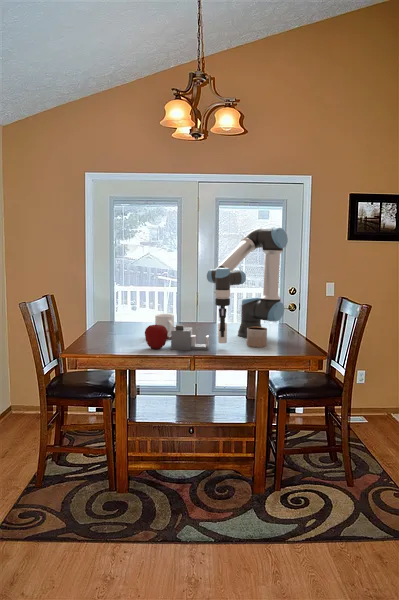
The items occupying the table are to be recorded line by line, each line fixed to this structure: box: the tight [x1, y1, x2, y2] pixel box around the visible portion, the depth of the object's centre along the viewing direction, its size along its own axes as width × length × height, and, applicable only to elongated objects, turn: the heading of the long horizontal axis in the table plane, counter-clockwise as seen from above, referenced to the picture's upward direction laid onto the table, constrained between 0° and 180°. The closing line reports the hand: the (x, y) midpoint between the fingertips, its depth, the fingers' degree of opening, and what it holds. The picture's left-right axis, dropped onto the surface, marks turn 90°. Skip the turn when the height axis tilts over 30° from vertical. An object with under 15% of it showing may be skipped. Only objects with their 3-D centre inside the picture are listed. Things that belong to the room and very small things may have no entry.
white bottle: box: [217, 322, 228, 344], centre depth 250 cm, size 4×4×12 cm
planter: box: [246, 326, 268, 348], centre depth 260 cm, size 11×11×10 cm
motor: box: [166, 324, 210, 351], centre depth 251 cm, size 22×12×12 cm, turn 87°
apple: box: [144, 324, 168, 350], centre depth 248 cm, size 12×12×13 cm
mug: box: [154, 313, 175, 336], centre depth 278 cm, size 15×11×13 cm
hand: (222, 341), depth 251 cm, fingers closed on white bottle, 4 cm apart
